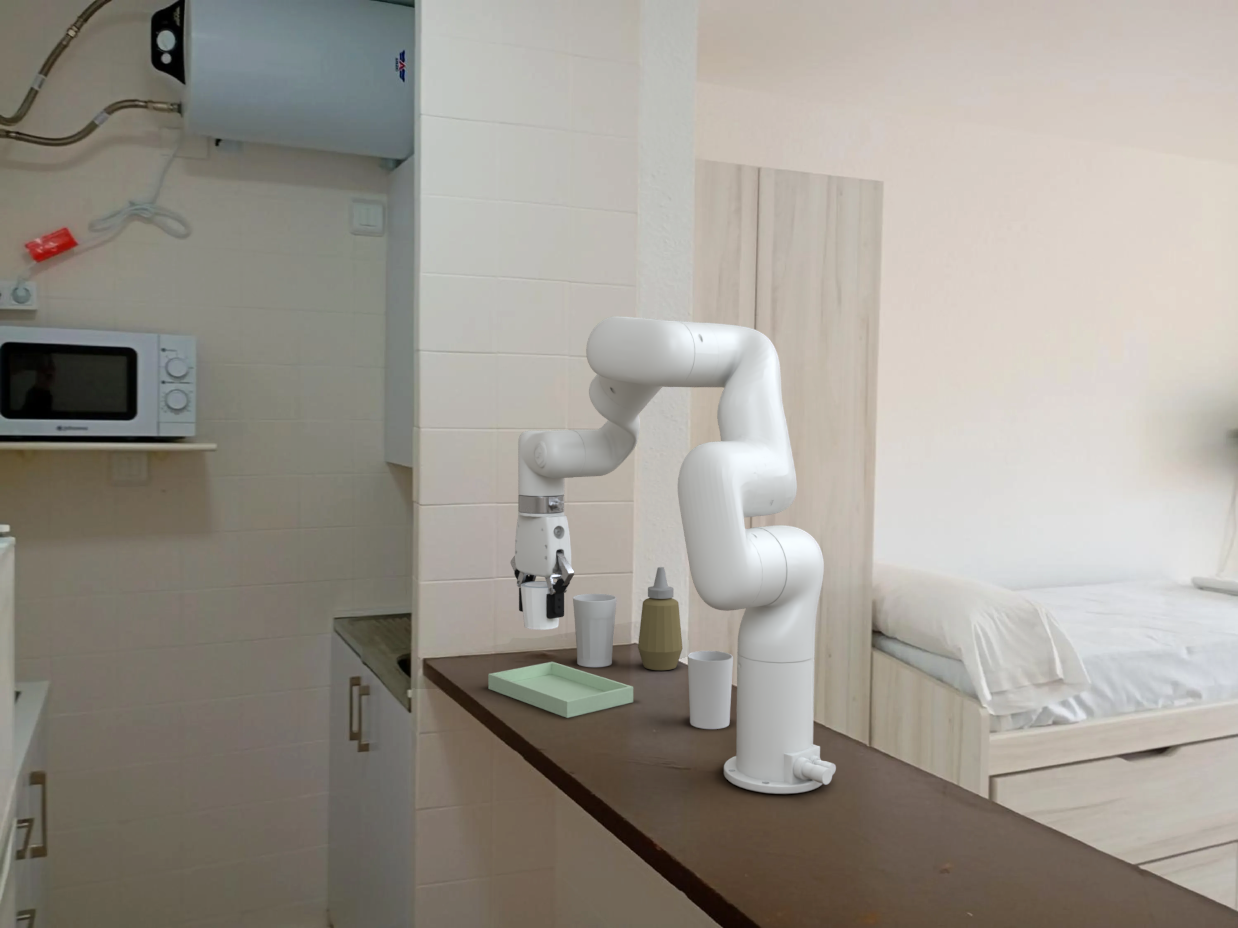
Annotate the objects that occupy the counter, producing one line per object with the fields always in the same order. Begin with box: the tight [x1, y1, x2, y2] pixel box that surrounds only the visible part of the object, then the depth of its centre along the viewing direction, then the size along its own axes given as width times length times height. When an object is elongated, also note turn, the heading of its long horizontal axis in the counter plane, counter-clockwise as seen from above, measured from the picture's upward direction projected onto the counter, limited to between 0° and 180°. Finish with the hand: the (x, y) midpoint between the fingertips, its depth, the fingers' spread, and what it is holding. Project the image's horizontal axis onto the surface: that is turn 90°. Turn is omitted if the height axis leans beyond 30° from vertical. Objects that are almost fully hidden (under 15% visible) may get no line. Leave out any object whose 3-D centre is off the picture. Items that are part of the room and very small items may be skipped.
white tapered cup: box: [521, 580, 560, 631], centre depth 169 cm, size 7×7×7 cm
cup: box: [572, 593, 618, 668], centre depth 188 cm, size 8×8×12 cm
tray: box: [487, 661, 634, 719], centre depth 166 cm, size 21×13×2 cm, turn 41°
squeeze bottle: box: [637, 566, 683, 671], centre depth 184 cm, size 8×8×18 cm
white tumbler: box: [687, 650, 734, 730], centre depth 152 cm, size 7×7×10 cm
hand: (541, 613), depth 170 cm, fingers closed on white tapered cup, 6 cm apart
